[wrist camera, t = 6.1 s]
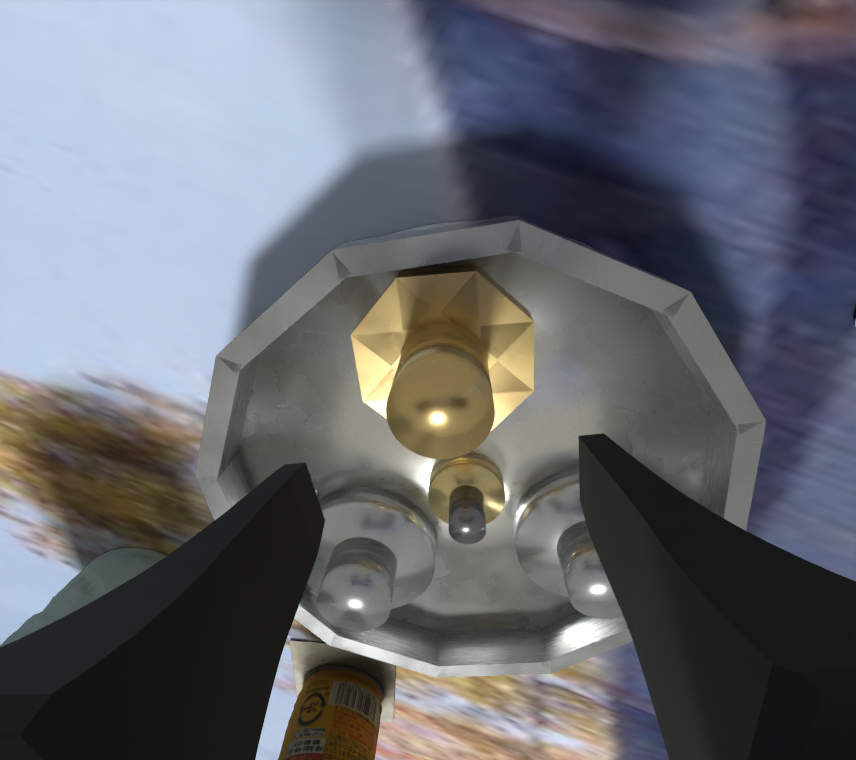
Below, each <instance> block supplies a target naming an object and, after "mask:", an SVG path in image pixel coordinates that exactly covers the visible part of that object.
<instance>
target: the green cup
mask: <svg viewBox="0 0 856 760" xmlns="http://www.w3.org/2000/svg"><path fill="white" fill-rule="evenodd" d="M166 556H167V555H165V554H162V553H159V552H156V551H151V550H147V549H141V548H121V549H116V550H112V551H109V552H106V553H104V554H102V555H100V556H99V557H97V558H96V559H94V560H93V561H92V562H91V563H89V564H88V565H87V566H86V567H85V568H84V569H83V570H82V571H81V572H80V573H79V574H78V575H77V576H76V577H74V578H73V579H72V580H71V581H70V582H69V583H68V584H67V585H66V586H65V587H64V588H63V589H62V590H61V591H60V592H59V593H58V594H57V595H56V596H55V597H53V598H52V600H51V601H50V603H49V604H48V605H47V606H46V608H45V609H44V610H43V611H42V612H40V613H38V614H35V615H33V616H32V617H31V618H30V619H28V620H27V621H26V622H25V623H24V624H23V625H22V626H21V627H20V628H19V629H18V630H17V631H16V632H14V633H13V634H12V635H11V636H10V637H8V638H7V639H6V640H5V641H4V643H3V644H2V645H0V647H2V646H5V645H7V644H9V643H11V642H13V641H16V640H18V639H20V638H22V637H24V636H26V635H28V634H30V633H33V632H35V631H37V630H39V629H41V628H43V627H45V626H47V625H49V624H51V623H53V622H55V621H57V620H59V619H61V618H63V617H65V616H66V615H68V614H70V613H72V612H74V611H76V610H78V609H80V608H81V607H83V606H85V605H87V604H89V603H91V602H93V601H94V600H96V599H98V598H100V597H101V596H103V595H105V594H106V593H108V592H110V591H111V590H113V589H115V588H117V587H118V586H120V585H122V584H123V583H125V582H127V581H128V580H130V579H132V578H134V577H135V576H137V575H139V574H140V573H142V572H143V571H145V570H146V569H148V568H150V567H151V566H153V565H154V564H156V563H157V562H159V561H160V560H162V559H163V558H165V557H166Z"/></svg>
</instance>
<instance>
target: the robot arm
mask: <svg viewBox="0 0 856 760" xmlns="http://www.w3.org/2000/svg"><path fill="white" fill-rule="evenodd" d="M855 327H856V320H855ZM578 439H579V488H580V503H581V506H582V510H583V514H584V517H585V521H586V524H587V528H588V531H589V535H590V537H591V540H592V542H593V545H594V547H595V550H596V552H597V554H598V557H599V559H600V562H601V564H602V566H603V569H604V571H605V574H606V576H607V578H608V581H609V583H610V585H611V588H612V590H613V592H614V595H615V597H616V600H617V602H618V604H619V607H620V609H621V611H622V614H623V616H624V618H625V621H626V623H627V626H628V629H629V631H630V634H631V637H632V639H633V642H634V645H635V648H636V652H637V655H638V658H639V661H640V664H641V667H642V671H643V674H644V677H645V680H646V683H647V686H648V690H649V693H650V696H651V700H652V703H653V706H654V710H655V713H656V716H657V719H658V723H659V726H660V729H661V733H662V736H663V739H664V743H665V746H666V750H667V753H668V757H669V760H856V582H855V581H853V580H851V579H848V578H846V577H843V576H841V575H838V574H836V573H833V572H831V571H829V570H827V569H824V568H822V567H820V566H817V565H815V564H813V563H811V562H808V561H806V560H804V559H802V558H800V557H798V556H795V555H793V554H791V553H789V552H787V551H785V550H783V549H781V548H779V547H777V546H775V545H772V544H770V543H768V542H766V541H764V540H762V539H760V538H759V537H757V536H755V535H753V534H751V533H749V532H747V531H745V530H743V529H742V528H740V527H738V526H736V525H734V524H733V523H731V522H729V521H727V520H726V519H724V518H722V517H720V516H718V515H717V514H715V513H713V512H712V511H710V510H708V509H707V508H705V507H703V506H702V505H700V504H699V503H697V502H696V501H694V500H693V499H691V498H690V497H688V496H686V495H685V494H683V493H682V492H680V491H679V490H677V489H676V488H674V487H673V486H672V485H670V484H669V483H667V482H666V481H664V480H663V479H662V478H660V477H659V476H658V475H656V474H655V473H653V472H652V471H651V470H649V469H648V468H647V467H645V466H644V465H643V464H642V463H640V462H639V461H638V460H636V459H635V458H634V457H633V456H631V455H630V454H629V453H628V452H626V451H625V450H624V449H623V448H621V447H620V446H619V445H618V444H616V443H615V442H614V441H613V440H611V439H610V438H609V437H608V436H606V435H605V434H604V433H602V434H592V435H582V436H578ZM324 524H325V518H324V515H323V512H322V509H321V506H320V503H319V500H318V497H317V494H316V491H315V488H314V486H313V483H312V480H311V477H310V474H309V471H308V468H307V465H306V463H295V464H285V465H283V466H282V467H280V468H279V469H278V470H276V471H275V472H274V473H272V474H271V475H270V476H269V477H267V478H266V479H265V480H264V481H263V482H261V483H260V484H259V485H258V486H257V487H255V488H254V489H253V490H252V491H251V492H249V493H248V494H247V495H246V496H244V497H243V498H242V499H241V500H240V501H238V502H237V503H236V504H235V505H234V506H232V507H231V508H230V509H229V510H228V511H226V512H225V513H224V514H223V515H221V516H220V517H219V518H217V519H216V520H215V521H214V522H212V523H211V524H210V525H208V526H207V527H206V528H204V529H203V530H202V531H201V532H199V533H198V534H197V535H195V536H194V537H193V538H191V539H190V540H189V541H187V542H186V543H185V544H183V545H182V546H181V547H179V548H178V549H176V550H175V551H173V552H172V553H171V554H169V555H168V556H166V557H165V558H163V559H162V560H160V561H159V562H157V563H156V564H154V565H153V566H151V567H150V568H148V569H146V570H145V571H143V572H142V573H140V574H139V575H137V576H135V577H134V578H132V579H130V580H128V581H127V582H125V583H123V584H122V585H120V586H118V587H117V588H115V589H113V590H111V591H110V592H108V593H106V594H105V595H103V596H101V597H100V598H98V599H96V600H94V601H93V602H91V603H89V604H87V605H85V606H83V607H81V608H80V609H78V610H76V611H74V612H72V613H70V614H68V615H66V616H65V617H63V618H61V619H59V620H57V621H55V622H53V623H51V624H49V625H47V626H45V627H43V628H41V629H39V630H37V631H35V632H33V633H30V634H28V635H26V636H24V637H22V638H20V639H18V640H16V641H13V642H11V643H9V644H7V645H5V646H2V647H0V760H255V757H256V753H257V748H258V744H259V739H260V735H261V731H262V727H263V723H264V719H265V715H266V710H267V706H268V702H269V698H270V694H271V691H272V687H273V683H274V679H275V676H276V672H277V668H278V665H279V661H280V657H281V654H282V651H283V648H284V645H285V642H286V639H287V636H288V633H289V631H290V628H291V625H292V623H293V620H294V617H295V615H296V612H297V609H298V607H299V604H300V601H301V599H302V596H303V593H304V591H305V588H306V585H307V583H308V580H309V577H310V574H311V572H312V569H313V566H314V563H315V561H316V558H317V555H318V551H319V547H320V542H321V538H322V533H323V528H324Z"/></svg>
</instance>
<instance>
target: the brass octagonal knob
mask: <svg viewBox="0 0 856 760" xmlns="http://www.w3.org/2000/svg"><path fill="white" fill-rule="evenodd" d="M351 339H352V345H353V350H354V356H355V361H356V367H357V373H358V378H359V384H360V389H361V395H362V400H363V402H364V403H366V404H367V405H369V406H370V407H371V408H373V409H374V410H376V411H377V412H378V413H380V414H381V415H382V416H384V417H385V418H387V422H388V425H389V428H390V430H391V432H392V433H393V435H394V436H395V438H396V439H397V440H398V441H399V442H400V443H401V444H402V445H403V446H404V447H406V448H407V449H409V450H410V451H412V452H414V453H416V454H418V455H421V456H424V457H427V458H433V459H451V458H456V457H460V456H463V455H465V454H467V453H469V452H471V451H473V450H474V449H476V448H477V447H478V446H480V445H481V444H482V443H483V442H484V441H485V439H486V438H487V436H488V435H489V433H490V432H491V431H492V430H493V429H494V428H495V427H496V426H497V425H498V424H499V423H500V422H501V421H502V420H504V419H505V418H506V417H507V416H508V415H509V414H510V413H511V412H512V411H513V410H514V409H515V408H516V407H518V406H519V405H520V404H521V403H522V402H523V401H524V400H525V399H526V398H527V397H528V396H529V395H530V394H532V393H533V392H534V320H533V318H532V316H531V314H530V312H529V310H528V309H526V308H525V307H524V306H523V305H522V304H521V303H520V302H518V301H517V300H516V299H515V298H514V297H513V296H512V295H510V294H509V293H508V292H507V291H506V290H505V289H504V288H503V287H501V286H500V285H499V284H498V283H497V282H496V281H495V280H493V279H492V278H491V277H490V276H489V275H488V274H487V273H485V272H484V271H483V270H482V269H481V268H480V267H479V266H477V265H476V264H475V263H472V264H460V265H449V266H437V267H426V268H414V269H402V270H400V271H399V273H398V274H397V275H396V276H395V278H394V279H393V280H392V282H391V283H390V284H389V285H388V287H387V288H386V289H385V290H384V292H383V293H382V294H381V295H380V297H379V298H378V299H377V300H376V302H375V303H374V304H373V306H372V307H371V308H370V309H369V311H368V312H367V313H366V314H365V316H364V317H363V318H362V319H361V321H360V322H359V323H358V325H357V326H356V328H355V329H354V331H353V332H352V334H351Z"/></svg>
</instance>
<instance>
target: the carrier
mask: <svg viewBox="0 0 856 760" xmlns="http://www.w3.org/2000/svg"><path fill="white" fill-rule="evenodd" d="M472 263H475V264H476V265H477V266H479V267H480V268H481V269H482V270H483V271H484V272H485V273H487V274H488V275H489V276H490V277H491V278H492V279H493V280H495V281H496V282H497V283H498V284H499V285H500V286H501V287H503V288H504V289H505V290H506V291H507V292H508V293H509V294H510V295H512V296H513V297H514V298H515V299H516V300H517V301H518V302H520V303H521V304H522V305H523V306H524V307H525V308H526V309H528V310H529V312H530V314H531V316H532V318H533V320H534V392H533V393H532V394H530V395H529V396H528V397H527V398H526V399H525V400H524V401H523V402H522V403H521V404H520V405H519V406H518V407H516V408H515V409H514V410H513V411H512V412H511V413H510V414H509V415H508V416H507V417H506V418H505V419H504V420H502V421H501V422H500V423H499V424H498V425H497V426H496V427H495V428H494V429H493V430H492V431H491V432H490V433H489V435H488V436H487V438H486V439H485V441H484V442H483V443H482V444H481V445H480V446H478V447H477V448H476V449H474V450H473V451H471V452H469V453H467V454H465V455H463V456H460V457H456V458H451V459H433V458H427V457H424V456H421V455H418V454H416V453H414V452H412V451H410V450H409V449H407V448H406V447H404V446H403V445H402V444H401V443H400V442H399V441H398V440H397V439H396V438H395V436H394V435H393V433H392V432H391V430H390V428H389V425H388V422H387V418H385V417H384V416H382V415H381V414H380V413H378V412H377V411H376V410H374V409H373V408H371V407H370V406H369V405H367V404H366V403H364V402H363V400H362V395H361V389H360V384H359V378H358V373H357V367H356V361H355V356H354V350H353V345H352V339H351V334H352V332H353V331H354V329H355V328H356V326H357V325H358V323H359V322H360V321H361V319H362V318H363V317H364V316H365V314H366V313H367V312H368V311H369V309H370V308H371V307H372V306H373V304H374V303H375V302H376V300H377V299H378V298H379V297H380V295H381V294H382V293H383V292H384V290H385V289H386V288H387V287H388V285H389V284H390V283H391V282H392V280H393V279H394V278H395V276H396V275H397V274H398V273H399V271H400V270H402V269H414V268H426V267H437V266H449V265H460V264H472ZM765 425H766V420H765V418H764V416H763V415H762V413H761V411H760V410H759V408H758V406H757V404H756V403H755V401H754V399H753V398H752V396H751V394H750V392H749V391H748V389H747V387H746V386H745V384H744V382H743V380H742V379H741V377H740V375H739V374H738V372H737V370H736V368H735V367H734V365H733V363H732V362H731V360H730V358H729V356H728V355H727V353H726V351H725V350H724V348H723V346H722V344H721V343H720V341H719V339H718V338H717V336H716V334H715V332H714V331H713V329H712V327H711V326H710V324H709V322H708V320H707V319H706V317H705V315H704V314H703V312H702V310H701V308H700V307H699V305H698V303H697V302H696V300H695V298H694V296H693V295H692V293H691V292H690V291H688V290H686V289H684V288H682V287H681V286H679V285H677V284H675V283H673V282H671V281H669V280H667V279H665V278H663V277H660V276H658V275H655V274H653V273H651V272H648V271H646V270H644V269H641V268H639V267H636V266H634V265H632V264H629V263H627V262H624V261H622V260H620V259H617V258H615V257H613V256H610V255H608V254H605V253H603V252H601V251H598V250H596V249H594V248H592V247H590V246H588V245H586V244H584V243H582V242H580V241H577V240H574V239H571V238H568V237H566V236H563V235H560V234H558V233H555V232H553V231H551V230H548V229H546V228H544V227H541V226H539V225H536V224H534V223H532V222H529V221H527V220H524V219H522V218H520V217H517V216H515V215H507V216H501V217H495V218H489V219H483V220H477V221H459V222H449V223H438V224H429V225H424V226H420V227H416V228H412V229H407V230H403V231H399V232H395V233H391V234H389V235H385V236H379V237H372V238H366V239H360V240H354V241H348V242H344V243H343V244H341V245H340V246H338V247H336V248H335V249H333V250H332V251H330V252H329V253H328V254H327V255H326V256H325V257H324V258H323V259H322V260H321V261H320V262H318V263H317V264H316V265H315V266H314V267H313V268H312V269H311V270H310V271H309V272H307V273H306V274H305V275H304V276H303V277H302V278H301V279H300V280H299V281H298V282H296V283H295V284H294V285H293V286H292V287H291V288H290V289H289V290H288V291H287V292H286V293H284V294H283V295H282V296H281V297H280V298H279V299H278V300H277V301H276V302H275V303H273V304H272V305H271V306H270V307H269V308H268V309H267V310H266V311H265V312H264V313H262V314H261V315H260V316H259V317H258V318H257V319H256V320H255V321H254V322H253V323H252V324H250V325H249V326H248V327H247V328H246V329H245V330H244V331H243V332H242V333H241V334H239V335H238V336H237V337H236V338H235V339H234V340H233V341H232V342H231V343H230V344H228V345H227V346H226V347H225V348H224V349H223V350H222V351H221V352H220V353H219V354H218V355H216V359H215V365H214V371H213V376H212V382H211V388H210V393H209V399H208V404H207V410H206V416H205V421H204V427H203V433H202V438H201V444H200V450H199V455H198V461H197V466H196V472H195V479H196V482H197V484H198V486H199V488H200V490H201V492H202V494H203V496H204V499H205V501H206V503H207V505H208V507H209V509H210V511H211V513H212V516H213V518H214V520H216V519H217V518H219V517H220V516H221V515H223V514H224V513H225V512H226V511H228V510H229V509H230V508H231V507H232V506H234V505H235V504H236V503H237V502H238V501H240V500H241V499H242V498H243V497H244V496H246V495H247V494H248V493H249V492H251V491H252V490H253V489H254V488H255V487H257V486H258V485H259V484H260V483H261V482H263V481H264V480H265V479H266V478H267V477H269V476H270V475H271V474H272V473H274V472H275V471H276V470H278V469H279V468H280V467H282V466H283V465H285V464H295V463H306V465H307V468H308V471H309V474H310V477H311V480H312V483H313V486H314V488H315V491H316V494H317V497H318V500H319V503H320V506H321V509H322V512H323V515H324V518H325V524H324V528H323V533H322V538H321V542H320V547H319V551H318V555H317V558H316V561H315V563H314V566H313V569H312V572H311V574H310V577H309V580H308V583H307V585H306V588H305V591H304V593H303V596H302V599H301V601H300V604H299V607H298V609H297V612H296V615H295V617H294V619H296V620H297V621H298V622H300V623H301V624H302V625H303V626H305V627H306V628H307V629H309V630H310V631H311V632H312V633H314V634H315V635H316V636H318V637H319V638H320V639H322V640H323V641H324V642H325V643H327V644H328V645H330V646H333V647H336V648H340V649H343V650H346V651H350V652H353V653H356V654H360V655H363V656H366V657H370V658H373V659H376V660H380V661H383V662H387V663H390V664H393V665H397V666H400V667H403V668H407V669H410V670H413V671H417V672H420V673H423V674H427V675H430V676H433V677H463V676H492V675H520V674H549V673H554V672H556V671H559V670H561V669H564V668H566V667H569V666H571V665H574V664H576V663H579V662H581V661H584V660H586V659H589V658H591V657H594V656H597V655H599V654H602V653H604V652H607V651H609V650H612V649H614V648H617V647H619V646H622V645H624V644H627V643H629V642H632V641H633V639H632V637H631V634H630V631H629V629H628V626H627V623H626V621H625V618H624V616H623V614H622V611H621V609H620V607H619V604H618V602H617V600H616V597H615V595H614V592H613V590H612V588H611V585H610V583H609V581H608V578H607V576H606V574H605V571H604V569H603V566H602V564H601V562H600V559H599V557H598V554H597V552H596V550H595V547H594V545H593V542H592V540H591V537H590V535H589V531H588V528H587V524H586V521H585V517H584V514H583V510H582V506H581V503H580V488H579V439H578V436H582V435H592V434H602V433H604V434H605V435H606V436H608V437H609V438H610V439H611V440H613V441H614V442H615V443H616V444H618V445H619V446H620V447H621V448H623V449H624V450H625V451H626V452H628V453H629V454H630V455H631V456H633V457H634V458H635V459H636V460H638V461H639V462H640V463H642V464H643V465H644V466H645V467H647V468H648V469H649V470H651V471H652V472H653V473H655V474H656V475H658V476H659V477H660V478H662V479H663V480H664V481H666V482H667V483H669V484H670V485H672V486H673V487H674V488H676V489H677V490H679V491H680V492H682V493H683V494H685V495H686V496H688V497H690V498H691V499H693V500H694V501H696V502H697V503H699V504H700V505H702V506H703V507H705V508H707V509H708V510H710V511H712V512H713V513H715V514H717V515H718V516H720V517H722V518H724V519H726V520H727V521H729V522H731V523H733V524H734V525H736V526H738V527H740V528H742V529H743V530H745V531H746V527H747V522H748V516H749V511H750V506H751V500H752V495H753V489H754V484H755V479H756V473H757V468H758V463H759V457H760V452H761V446H762V441H763V436H764V430H765Z"/></svg>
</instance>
